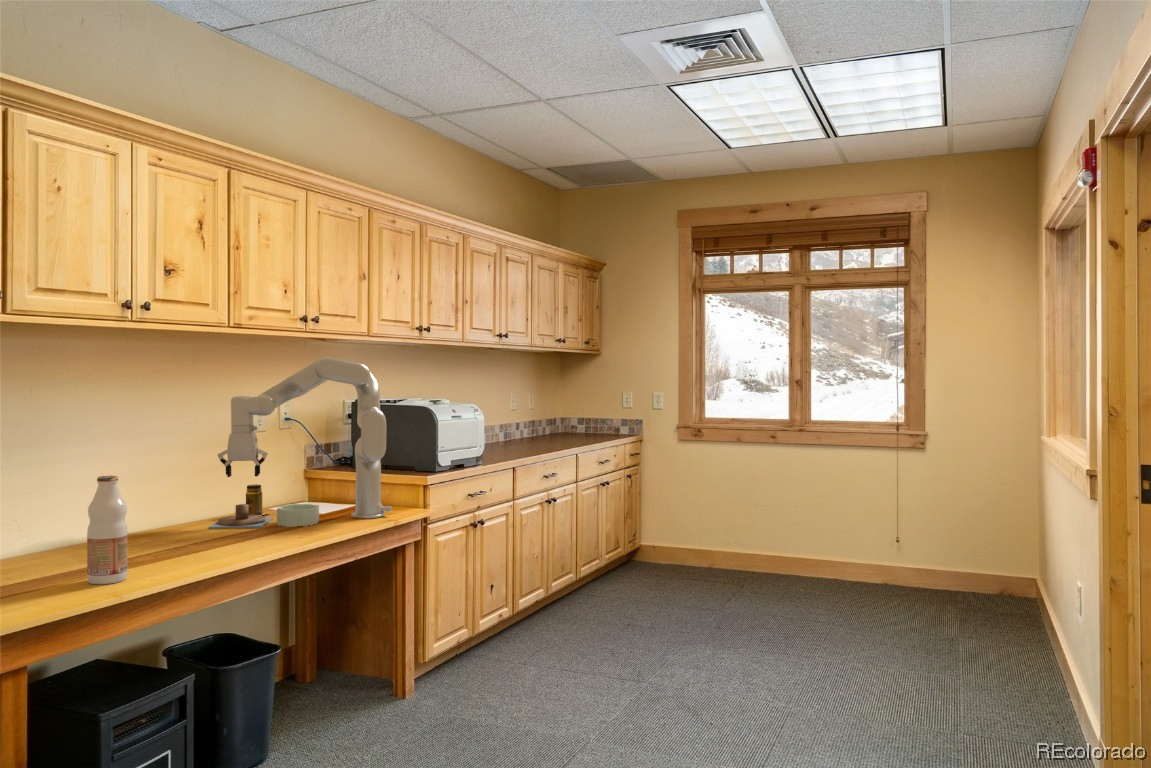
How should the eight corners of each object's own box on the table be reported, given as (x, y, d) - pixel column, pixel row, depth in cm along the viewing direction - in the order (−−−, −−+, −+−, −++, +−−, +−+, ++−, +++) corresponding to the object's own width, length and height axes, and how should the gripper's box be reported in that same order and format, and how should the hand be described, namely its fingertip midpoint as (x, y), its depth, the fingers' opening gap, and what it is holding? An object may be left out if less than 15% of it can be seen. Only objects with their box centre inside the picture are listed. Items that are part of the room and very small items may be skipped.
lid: (269, 517, 314) (269, 501, 314) (259, 525, 298) (259, 508, 298) (224, 518, 312) (225, 501, 312) (212, 526, 296) (212, 509, 296)
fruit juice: (91, 587, 216) (92, 479, 216) (83, 580, 223) (83, 476, 223) (131, 581, 223) (132, 476, 222) (121, 574, 230) (122, 473, 229)
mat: (272, 519, 315) (272, 517, 315) (261, 528, 298) (261, 526, 298) (222, 520, 313) (222, 517, 313) (208, 529, 295) (208, 526, 295)
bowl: (320, 519, 316) (320, 503, 316) (314, 526, 302) (314, 509, 302) (282, 520, 314) (282, 504, 314) (274, 527, 300) (274, 510, 300)
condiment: (240, 516, 320) (240, 485, 320) (256, 513, 328) (256, 483, 328) (255, 518, 318) (255, 486, 318) (271, 514, 326) (271, 484, 326)
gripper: (269, 428, 310) (269, 474, 310) (220, 429, 307) (221, 475, 308) (264, 430, 302) (265, 477, 303) (214, 431, 300) (215, 478, 300)
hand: (243, 476), depth 305 cm, fingers open, 9 cm apart
